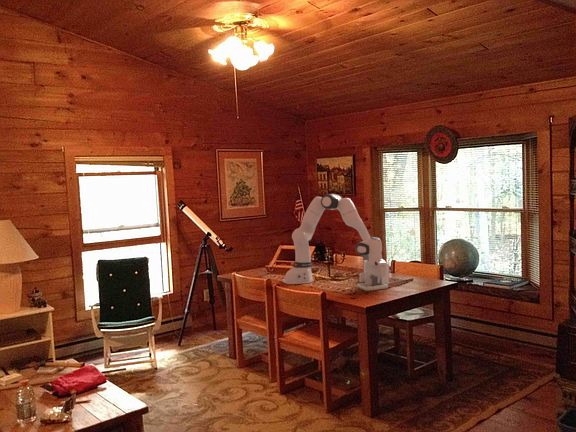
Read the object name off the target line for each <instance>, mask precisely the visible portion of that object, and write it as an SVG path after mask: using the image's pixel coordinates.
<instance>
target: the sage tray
mask: <svg viewBox="0 0 576 432" xmlns="http://www.w3.org/2000/svg"><path fill="white" fill-rule="evenodd" d="M356 288H357V289H360V290H362V289H363V291H364V292H370V291H378V290H386V289H389V284H384V283H382V285H378V286H371V285H365V282H361V283H356Z"/></svg>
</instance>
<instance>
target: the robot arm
mask: <svg viewBox="0 0 576 432" xmlns="http://www.w3.org/2000/svg"><path fill="white" fill-rule="evenodd" d="M325 210H330V211H333V210H337V211H339V213H340V216H341V218H342V221H343V222H344V223H345V225H347V226H348V227H351V228H353V229H355V230H356V231H357V232H358V234H359V236H360V238H361V239H362V241H360V242H358V243H356V245H355V252H356V254H357V255H359V256H362V257H363V256H364V255H368V256H369V260H367V263H366V267H365V272H366V273H369V274H370V276H373V275H375V276H377V280H376V282H377V283H380V279H381V277H385V276H386V266H385V265H386V263H387V262H386V260H384V259H383V255H382V252H383V244H382V240H381V238H380V237H377V236H371V234H370V232H369V230H368V228H367V226H366V224H365V223H364V221H363V219H362V218H361V217H360V215H359V212H358V210H357V207H356V206H355V204H354V202H353V200H351V198H349V197H344V198H343V197H342V196H341V195H340V194H337V193H327V194H326V193H325V194H324V195H323V196H317V195H316V196H315V197H314V198H313V199H312V200H311V202H310V204H309V206H308V207H307V208H306V211H305V213H304V214H303V217H302V221H301V224H300V226H299V228H296V229H294V231H292V234H291V239H292V241H293V246H294V253H295V255H294V256H295V258H294V259H295V261H294V262H293V261H291V262H290V265H291V266H292V267H291V268H290V269H289V270H288V271H287V272H286V273H285V275H284V276H285V277H284V279H282V281H281V282H282V283H284V284H286V285H298V284H299V285H301V284H311V282H313V281H314V278H313V275H312V260H311V259H312V258H311V257H312V255H311V254H312V252H311V249H310V245H309V244H310V243H309V241H310V240H311V239H312V238H313V236H314V233H315V231H316V228H317V226H318V223H319V221H320V219H321V217H322V215H323V213H324V211H325Z"/></svg>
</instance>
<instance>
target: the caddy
mask: <svg viewBox="0 0 576 432" xmlns="http://www.w3.org/2000/svg"><path fill="white" fill-rule="evenodd" d="M376 280H377V276H370V279H365V282H364V283H365V285H371V286H378V285H382V277H381V279H380V283H377V282H376Z"/></svg>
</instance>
